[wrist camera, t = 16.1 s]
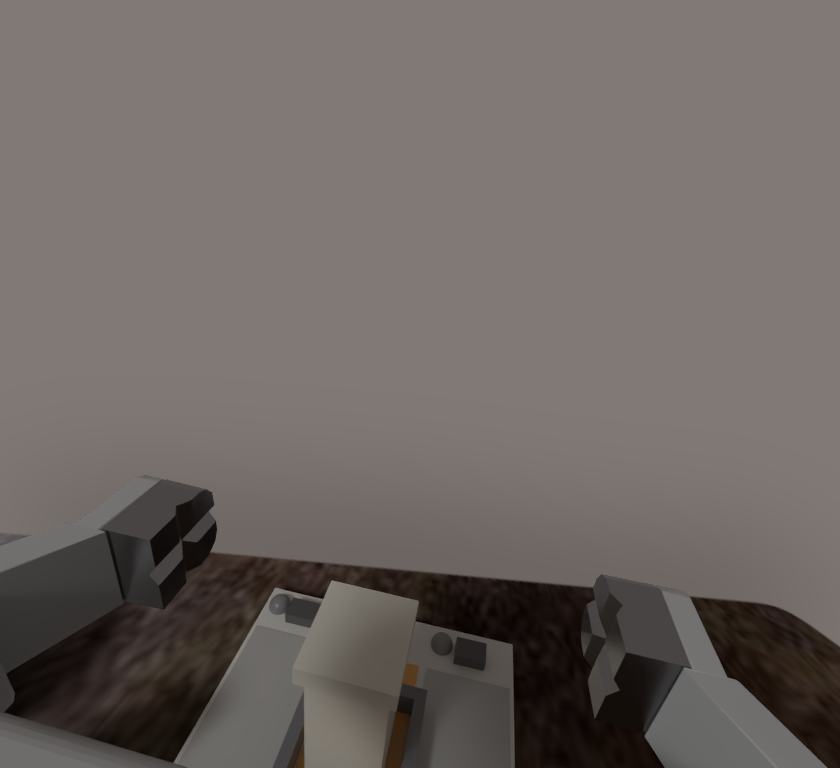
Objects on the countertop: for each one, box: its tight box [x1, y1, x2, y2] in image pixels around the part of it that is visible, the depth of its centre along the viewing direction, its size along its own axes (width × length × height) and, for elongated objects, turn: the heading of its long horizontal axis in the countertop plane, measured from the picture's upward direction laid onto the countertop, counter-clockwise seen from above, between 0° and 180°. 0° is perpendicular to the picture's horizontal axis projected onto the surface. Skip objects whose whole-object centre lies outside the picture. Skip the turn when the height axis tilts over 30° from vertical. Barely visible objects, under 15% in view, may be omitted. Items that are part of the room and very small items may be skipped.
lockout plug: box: [292, 581, 419, 768], centre depth 25 cm, size 5×5×12 cm
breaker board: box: [174, 588, 515, 768], centre depth 29 cm, size 21×18×3 cm
